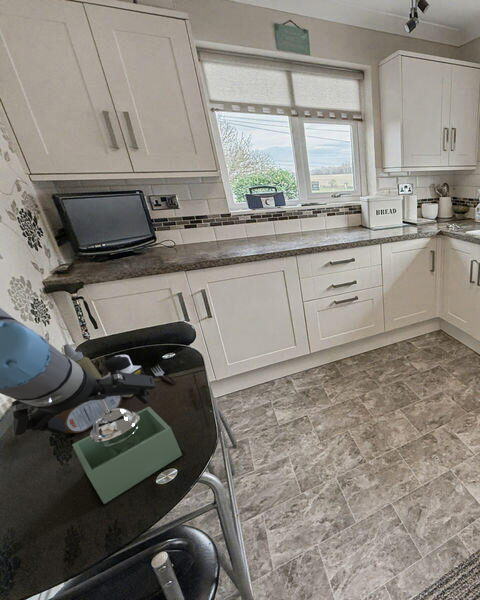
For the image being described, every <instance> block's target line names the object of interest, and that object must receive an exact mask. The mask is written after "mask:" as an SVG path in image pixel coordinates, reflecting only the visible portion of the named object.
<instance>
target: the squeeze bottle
mask: <svg viewBox="0 0 480 600" xmlns="http://www.w3.org/2000/svg"><path fill="white" fill-rule="evenodd" d="M62 346H63V353H64V355H66V356H67V357H69V358H70V359H71V360H73V361H74V362H76V363H77V364H79V365H80V366H81V367H83V368H84V369H85V370H87V371H88V372H89V373H90V374H91V375H92V376H93V377H94V378H101V379H102V378H103V377H102V375H101V374H100V372H99V370H98V369H97V368H96V367H95V365H94V364H93V361H91V359H90V357H87V356H84V355H83V353H82V351H76V350H75V349H74V348H73V347H72V345H70V344H69V343H66V344H63V345H62Z"/></svg>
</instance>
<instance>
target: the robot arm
mask: <svg viewBox="0 0 480 600" xmlns="http://www.w3.org/2000/svg"><path fill="white" fill-rule="evenodd" d="M110 374H111V375H110V376H109V377H106V378H103V377H102V378H103V379H101V378H94V377H93V376H92V375H91V374H90V373H89V372H88V371H87V370H85V369H84V368H83V367H81V366H80V365H79V364H77V363H76V362H74V361H73V360H71V359H70V358H69V357H67V356H66V355H65V353H62V352H61V351H60V350H59V349H58V348H56V347H55V346H53V345H52V344H51V343H49V342H48V341H47V340H46V339H45V338H44V337H43V336H41V335H40V334H38V333H37V332H36V331H34V330H33V329H31V328H30V327H28V326H26V325H25V324H24V323H22V322H21V321H19V320H17V319H16V318H14V317H13V316H12V315H10V314H9V312H8V313H7V312H6V311H5V310H4V309H3V308H1V307H0V394H1V395H3V396H6V397H9V398H11V399H14V401H12V402H11V406H12V414H13V421H12V423H13V431H14V432H13V433H14V436H20V435H21V436H22V435H24V434H26V432H27V431H29V430H31V432H36V431H39V432H46V431H47V432H51V433H54V434H57V435H63V434H67V433H66V430H65V424H64V420H63V419H60V418H57V417H58V415H59V414H60V413H62V412H63V411H67V410H70V409H72V408H74V407H76V406H78V405H79V404H81V403H83V402H89V401H91V400H103V399H105V398H107V397H108V396H121V395H132V396H133V395H134V397H135V398H136V399H137V400H139V401H140V402H141V403H142V404H143V405H147V404H149V403H150V402H149V398H148V395H150V390H153V389H155V388H156V383H155V381H154V377H153V375H146V374H145V375H139V374H130V373H123V372H121V371H119V370H114V371H111V372H110ZM99 392H100V394H98V393H99ZM35 409H37V410H36V411H35ZM33 411H35V412H33Z"/></svg>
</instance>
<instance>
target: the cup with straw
mask: <svg viewBox="0 0 480 600" xmlns="http://www.w3.org/2000/svg"><path fill="white" fill-rule="evenodd" d="M98 394H100V392H99V393H98ZM99 401H100V403H101V405H102V406H103V408H104V410H105V412H104V413H102V414H101V415H100V416H99V417H98V418H97V419H96V420H95V422H94V424H93V426H92V429H91V431H90V433H89V436H90V439H91V440H92V441H94V442H99V443H100V444H101V445H102V446H103V447H105V448H106V450H107V451H108V452H109V453H110V455H111V456H112V457H113V458H114V457H116V456H118V455H120V454H122V453H123V452H125V451H127V450H129V449H131V448H132V447H134V446H136V445H138V444H140V443H141V440H140V436H139V433H138V427H137V426H138V424H137V422H138V421H139V415H137V412H136V411H131V410H129V409H127V408H124V407H118V408H114V409H110V410H109V408H108V406H107V404H106V402H105V400H104V399H103V400H99Z"/></svg>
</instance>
